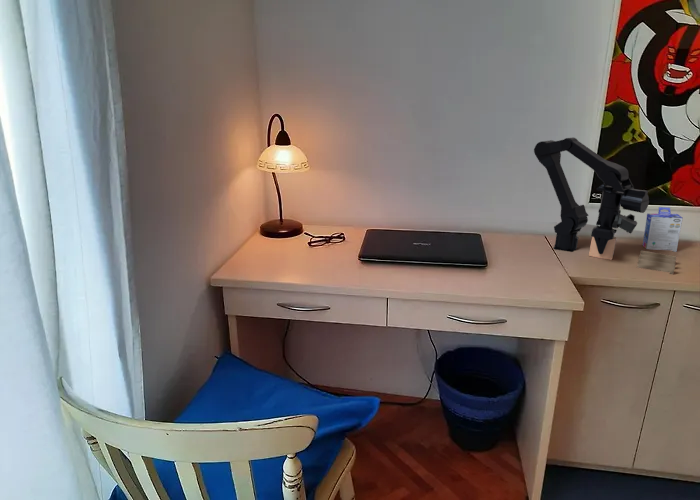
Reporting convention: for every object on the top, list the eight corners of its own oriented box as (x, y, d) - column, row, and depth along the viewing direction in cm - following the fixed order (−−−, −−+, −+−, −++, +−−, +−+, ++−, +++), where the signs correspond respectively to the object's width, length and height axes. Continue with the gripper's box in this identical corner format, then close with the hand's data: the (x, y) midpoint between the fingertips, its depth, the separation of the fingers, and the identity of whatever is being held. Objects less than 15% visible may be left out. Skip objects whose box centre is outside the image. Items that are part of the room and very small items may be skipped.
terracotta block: (588, 255, 178) (592, 235, 175) (589, 253, 180) (593, 233, 177) (611, 260, 174) (615, 239, 172) (612, 257, 176) (616, 237, 174)
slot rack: (636, 267, 168) (638, 258, 167) (639, 258, 176) (641, 250, 175) (673, 274, 163) (675, 265, 162) (674, 265, 171) (676, 256, 170)
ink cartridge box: (671, 247, 187) (679, 207, 182) (677, 252, 182) (685, 211, 177) (640, 246, 189) (647, 206, 184) (645, 251, 184) (652, 210, 179)
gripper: (635, 216, 160) (625, 265, 165) (640, 204, 175) (631, 249, 180) (595, 210, 165) (586, 258, 170) (603, 199, 180) (595, 243, 186)
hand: (601, 252), depth 176 cm, fingers open, 4 cm apart
